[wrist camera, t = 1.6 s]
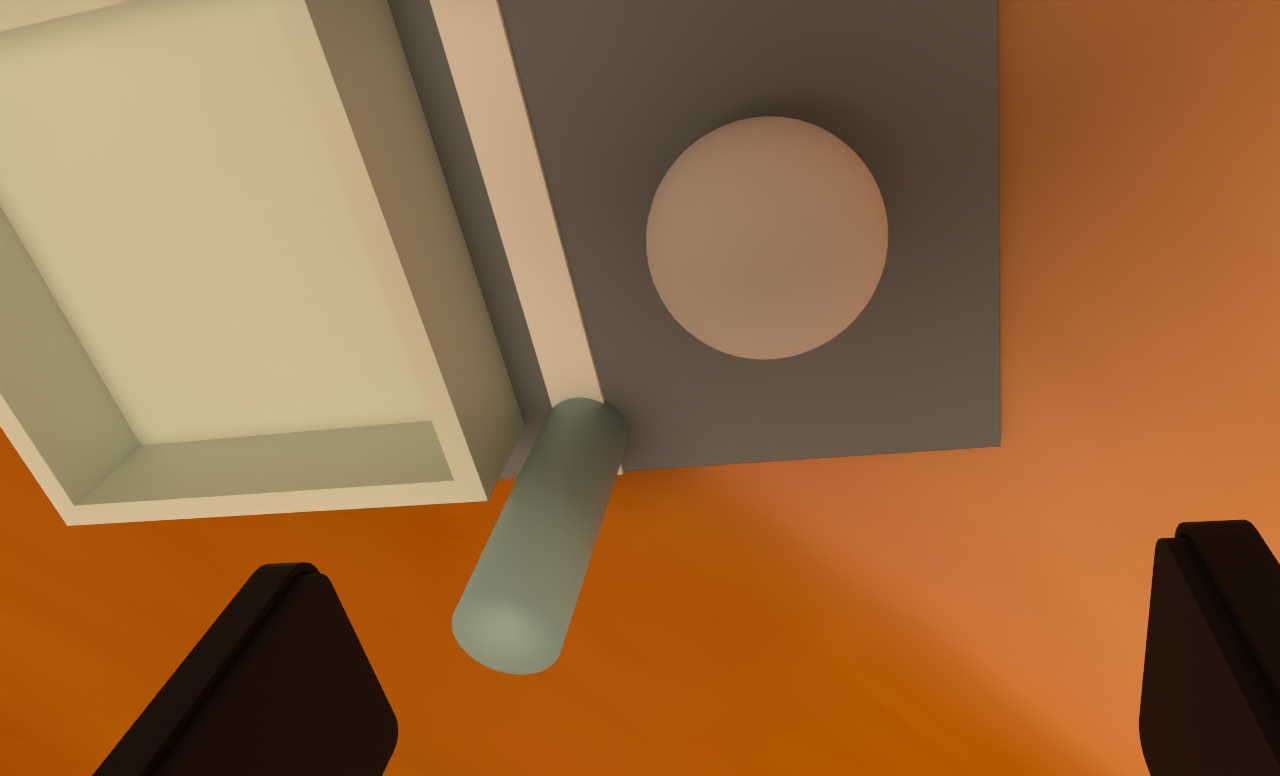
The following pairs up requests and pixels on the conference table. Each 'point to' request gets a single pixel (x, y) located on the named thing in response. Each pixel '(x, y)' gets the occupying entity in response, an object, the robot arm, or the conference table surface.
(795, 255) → the ball
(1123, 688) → the conference table surface
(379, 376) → the tray
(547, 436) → the post
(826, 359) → the mat
